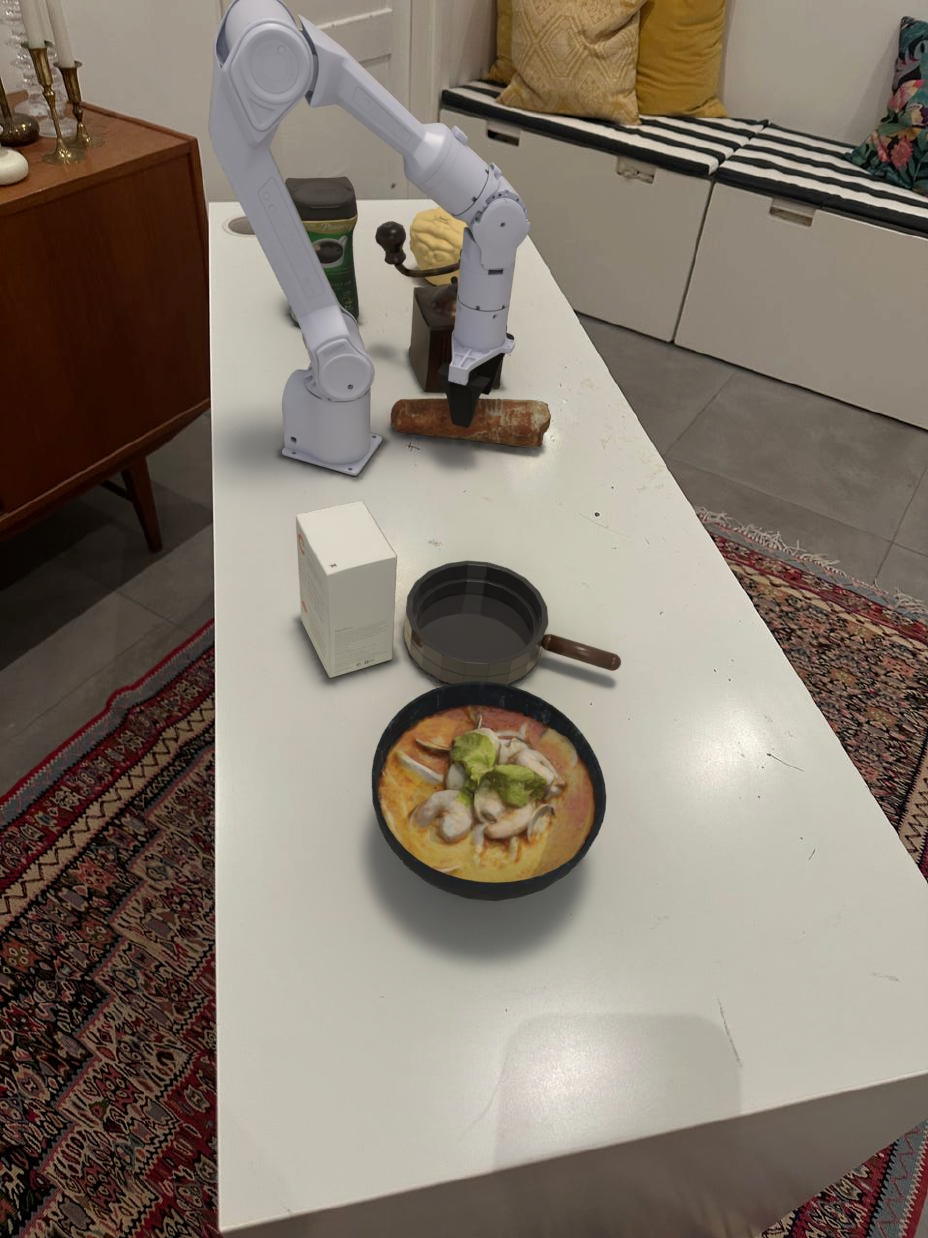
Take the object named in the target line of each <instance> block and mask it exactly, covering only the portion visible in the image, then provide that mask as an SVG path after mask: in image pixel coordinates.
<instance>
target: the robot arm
mask: <svg viewBox="0 0 928 1238" xmlns="http://www.w3.org/2000/svg"><path fill="white" fill-rule="evenodd" d="M297 18H298V19H299V21H300V25H301V29H299V28H298V26H297V23H296V19H295V17H294V16H293V13H292V12H291V10H290V9H289V7H288V5H287V4H286V3H285V2H284V1H283V0H232V1H231V2H230V4H229V5H228V7H227V8H226V11H225V12H224V15H223V17H222V19H221V22H220V23H219V25H218V28H217V31H216V33H215V35H214V37H213V49H212V50H213V51H212V53H213V55H212V57H213V60H212V64H213V65H212V75H211V86H210V99H209V110H208V122H207V123H208V124H207V129H208V135H209V139H210V143H211V146H212V150H213V153H214V154H215V156H216V158H217V160H218V162H219V164H220V166H221V168H222V171H223V172H224V174H225V176H226V178H227V181H228V182H229V185H230V187H231V188H232V190H233V193H234V195H235V196H236V199H237V201H238V203H239V204H240V207H241V208H242V212H243V213H244V215H245V217H246V219H247V222H248V223H249V225H250V227H251V230H252V231H253V233H254V235H255V237H256V239H257V241H258V244H259V246H260V247H261V249H262V251H263V253H264V255H265V257H266V259H267V261H268V264H269V265H270V268H271V269H272V272H273V273H274V276H275V277H276V280H277V281H278V284H279V286H280V288H281V290H282V293H283V294H284V296H285V298H286V300H287V302H288V304H290V306H291V308H292V310H293V312H294V314H295V316H296V318H297V321H298V323H299V324H298V323H297V324H298V325H299V328H300V330H301V338H302V343H303V345H304V347H305V349H306V351H307V354H308V358H309V361H310V362H309V365H308V367H307V369H302V368H301V369H300V368H299V369H295V370H294V371H292V372H291V374H290V375H289V377H288V379H287V380H286V383H285V386H284V388H283V393H282V400H281V412H282V427H283V441H284V442H283V443H284V447H283V448H282V450H281V454H282V455H283V456H285V457H287V458H291V459H294V460H298V461H302V462H304V463H305V462H306V463H309V464H312V465H316V466H319V467H322V468H327V469H329V470H333V471H337V472H340V473H342V474H346V475H349V476H353V477H355V476H358V475H359V474H360V473H361V472H362V470H363V469H364V467H365V466H366V465H367V463H368V461H369V460H370V458H371V457H372V455H373V454H374V453H375V452H376V450H378V448H379V446H380V445H381V444H382V442H383V437H382V436H381V435H377V434H375V433H371V403H372V402H371V400H372V399H371V394H372V385H373V384H374V380H375V375H376V369H375V365H374V363H373V360H372V358H371V357H370V355H369V353H368V351H367V349H366V345H365V343H364V341H363V338H362V335H361V334H360V333H361V332H360V327H359V324H358V321H357V320H355V318H354V317H353V316H352V315H351V314H350V313H349V312H348V311H346V310H345V309H344V308H343V307H342V306H341V305H340V304H339V302H338V300H337V298H336V296H335V293H334V292H333V290H332V288H331V286H330V284H329V281H328V279H327V277H326V275H325V272H324V270H323V268H322V266H321V263H320V261H319V259H318V257H317V254H316V252H315V250H314V248H313V245H312V243H311V241H310V239H309V236H308V234H307V232H306V230H305V227H304V225H303V223H302V220H301V218H300V216H299V214H298V211H297V209H296V207H295V205H294V202H293V200H292V198H291V196H290V193H289V191H288V189H287V187H286V184H285V179H284V178H283V174H282V173H281V171H280V168H279V166H278V164H277V162H276V160H275V157H274V155H273V152H272V151H271V149H270V147H271V145H272V142H273V140H274V138H275V136H276V133H277V131H278V129H279V126H280V124H281V123H282V121H283V120H284V119H285V118H286V117H287V116H288V115H289V113H290V112H291V111H293V110H294V108H296V107H297V105H298V104H299V103H300V102H301V101H302V100H303V98H304V99H305V100H306V103H307V105H308V107H310V108H320V107H326V106H333V105H334V106H335V105H336V106H339V107H340V108H342V109H343V110H344V111H345V112H347V113H348V114H349V115H350V116H352V117H353V118H354V119H356V121H358V122H359V123H360V124H362V125H363V126H364V127H366V129H368V130H370V131H371V132H372V133H373V134H374V135H375V136H377V137H378V138H380V139H381V140H382V141H383V142H384V143H385V144H387V145H388V146H389V147H391V148H392V149H393V150H394V151H395V152H397V153H398V154H399V155H401V156H402V162H403V173H404V176H405V179H406V180H408V181H409V182H410V183H411V184H413V185H414V186H415V187H416V188H417V189H418V190H419V191H421V192H422V193H423V194H424V195H426V196H427V197H428V198H429V199H430V200H432V201H433V202H434V203H435V204H436V205H437V206H438V207H439V206H440V207H441V208H442V209H444V210H445V211H446V212H447V213H448V214H450V215H451V216H452V217H453V218H455V219H457V220H460V221H463V222H465V223H466V225H467V226H468V227H465V228H464V232H463V243H462V252H461V259H460V270H459V281H458V293H457V303H456V316H455V327H454V330H453V332H452V362H451V364H450V365H449V364H446V363H443V364H442V366H441V367H440V368H439V370H438V380H439V382H440V383H441V385H442V387H443V389H444V391H445V392H444V393H445V396H446V399H447V400H448V404H449V410H450V416H451V421H452V424H454V425H458V426H461V427H465V428H469V426H470V425H471V423H472V420H473V418H474V414H475V411H476V407H477V403H478V400H479V398H481V395H485V396H489V395H490V394H491V392H492V389H493V388H492V387H493V385H494V382H495V379H496V376H497V373H498V370H499V367H500V365H501V362H502V360H503V361H504V358H505V356H506V355H508V354H512V353H513V351H514V349H515V347H516V341H515V336H514V335H513V334H512V333H510V332H507V333H506V327H507V328H508V320H509V311H510V305H511V298H512V291H513V285H514V284H513V283H514V276H515V268H516V262H517V261H516V259H517V251H518V249H519V247H520V245H521V244H522V243H523V242H524V241H525V239H526V238H527V236H528V234H529V232H530V229H531V226H532V223H531V221H529V214H528V213H529V212H528V210H527V206H526V203H525V202H524V200H523V199H522V197H521V196H520V194H519V193H518V192H517V191H516V189H514V187H513V186H512V184H511V183H510V182H509V181H508V180H507V179H506V177H504V176H503V172H502V170H501V169H500V168H499V166H498V165H497V164H496V163H495V162H490V163H489V164H488V163H487V162H486V161H485V160H483V159H482V157H481V156H479V155H478V153H476V152H475V151H474V150H473V149H472V148H471V147H470V146H469V145H468V144H467V142H468V141H469V138H468V136H467V135H466V134H465V132H464V131H463V130H462V129H460V128H459V127H458V126H457V125H454V126H453V127H452V128H451V129H450V128H449V127H448V126H447V125H446V124H445V123H443V122H431V123H421V122H420V121H419V120H418V119H417V118H416V117H415V116H414V115H413V114H412V113H411V112H410V111H409V110H408V109H407V108H406V107H405V106H404V105H402V104H401V102H400V101H398V100H397V99H396V98H395V97H394V96H393V95H392V94H391V93H390V92H389V91H388V90H387V89H386V88H385V87H384V86H383V84H381V83H380V82H379V81H378V80H377V79H376V78H374V77H373V75H372V74H371V73H370V72H368V71H367V69H366V68H364V67H363V66H362V65H361V64H360V62H358V61H357V59H355V58H354V57H353V56H352V55H351V54H350V53H349V52H348V51H347V50H346V49H344V47H343V46H342V45H340V44H339V43H338V42H336V40H334V39H333V38H332V37H331V36H329V35H327V34H326V33H325V32H324V31H323V30H321V29H320V28H319V27H318V26H316V25H315V24H314V23H313V22H311V21H310V20H309V19H307V18H305V17H304V16H302V15H301V14H299V13H298V14H297ZM290 306H289V307H290Z"/></svg>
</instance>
